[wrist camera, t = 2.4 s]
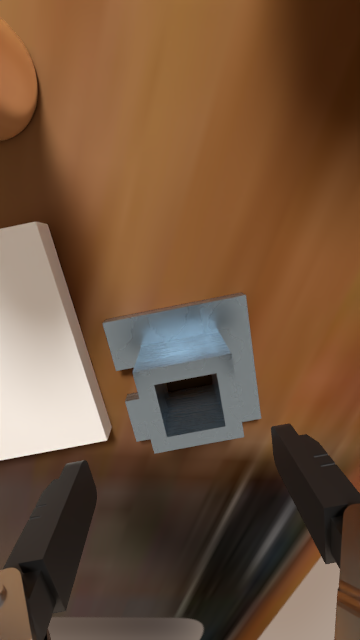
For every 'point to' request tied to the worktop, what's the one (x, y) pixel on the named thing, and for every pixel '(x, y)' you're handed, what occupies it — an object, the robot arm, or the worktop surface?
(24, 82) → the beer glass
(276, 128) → the worktop surface
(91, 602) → the worktop surface
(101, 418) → the post base
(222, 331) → the flange
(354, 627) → the robot arm
